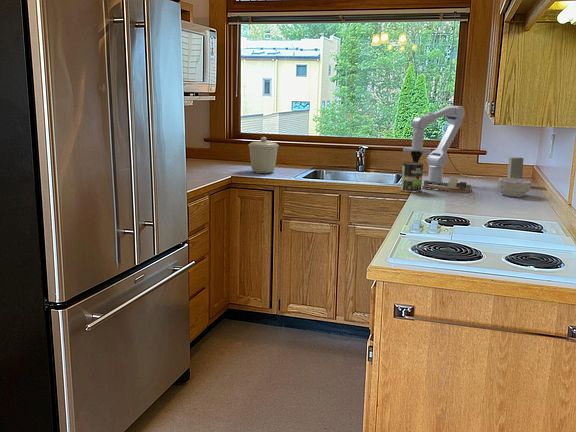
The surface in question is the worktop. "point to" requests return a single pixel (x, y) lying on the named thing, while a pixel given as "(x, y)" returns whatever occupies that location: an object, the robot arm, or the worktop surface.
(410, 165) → the coffee can
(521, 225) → the worktop surface
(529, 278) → the worktop surface
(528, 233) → the worktop surface
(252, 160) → the canister
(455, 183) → the marker sleeve
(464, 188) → the cable cradle
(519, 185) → the paper bowls
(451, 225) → the worktop surface
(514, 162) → the skincare box
